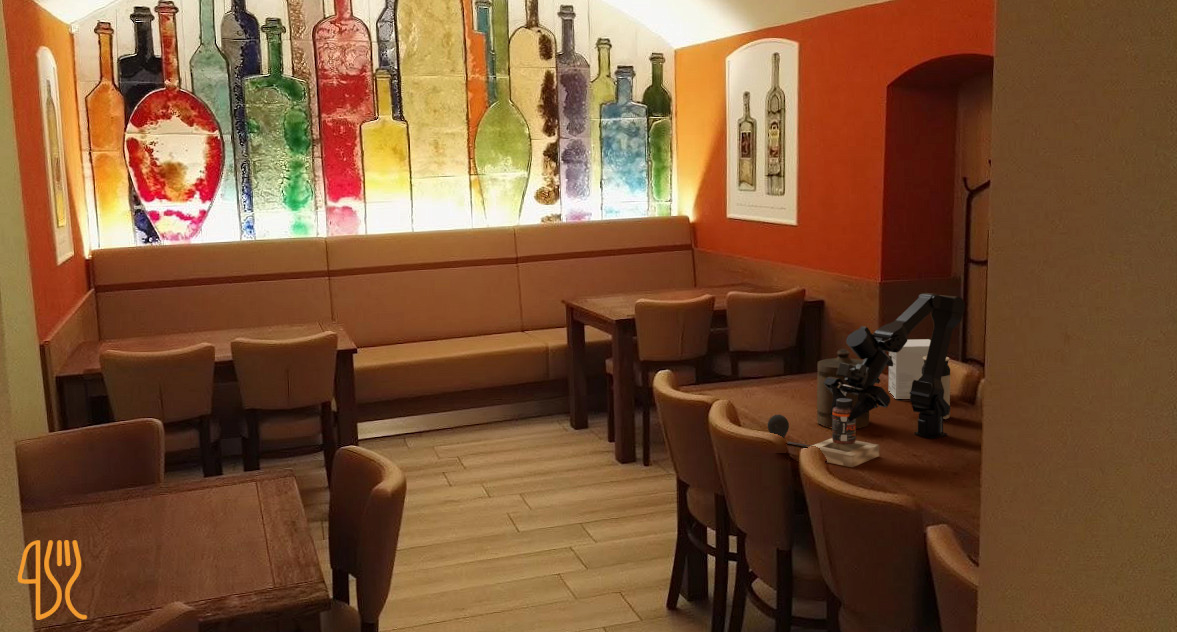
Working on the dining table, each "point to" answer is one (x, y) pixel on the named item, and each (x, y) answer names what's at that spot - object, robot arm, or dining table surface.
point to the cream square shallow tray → (848, 452)
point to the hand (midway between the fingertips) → (840, 417)
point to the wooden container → (826, 397)
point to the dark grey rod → (798, 444)
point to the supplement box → (907, 367)
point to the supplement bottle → (843, 423)
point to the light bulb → (778, 425)
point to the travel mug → (944, 381)
